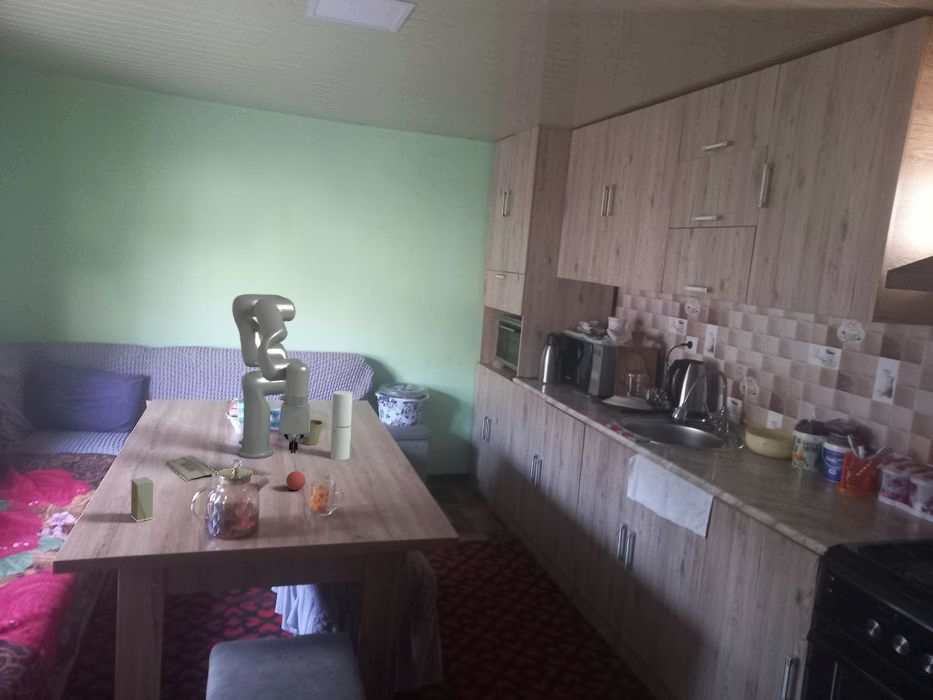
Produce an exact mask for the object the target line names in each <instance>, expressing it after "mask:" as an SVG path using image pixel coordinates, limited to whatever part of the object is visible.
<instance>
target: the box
mask: <svg viewBox="0 0 933 700" xmlns="http://www.w3.org/2000/svg"><path fill="white" fill-rule="evenodd" d="M130 484H131V489H130V490H131V493H130V495H131V497H130V499H131V503H130V516H131V515H132V516H133V517H134V518H135V519H136V520H141V519H146V518H150V517H153V515H154V514H153V512H154V482H153V481H152V480H151V479H150V478H149V477H147V476H146V477H139V478H134V479H131V483H130ZM153 518H154V517H153Z"/></svg>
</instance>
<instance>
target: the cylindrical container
mask: <svg viewBox="0 0 933 700" xmlns="http://www.w3.org/2000/svg"><path fill="white" fill-rule="evenodd" d="M332 394H333V395H332V412H331V413H332V415H331V416H332V418H331V435H330V439H331V440H330V459H332V460H336V461H344V460H345V459H346V460H348V458H349V459H350V457H351V454H350V453H351V438H352V437H351V436H352V435H351V432H352V414H353V413H352V412H353V394H354V392H352V391H348V390H335V391H333V393H332Z"/></svg>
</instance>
